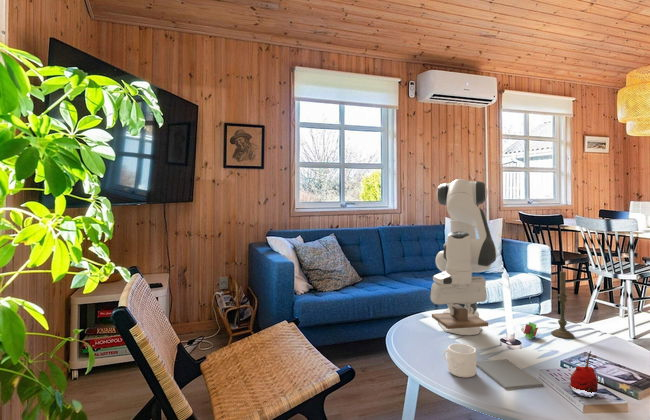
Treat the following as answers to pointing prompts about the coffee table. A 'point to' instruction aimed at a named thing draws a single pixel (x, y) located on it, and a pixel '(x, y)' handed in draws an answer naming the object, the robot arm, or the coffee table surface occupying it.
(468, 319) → the lid
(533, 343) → the coffee table surface
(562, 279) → the candlestick holder
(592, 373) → the candy apple
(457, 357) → the mug
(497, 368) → the mat
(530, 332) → the geometric puzzle
